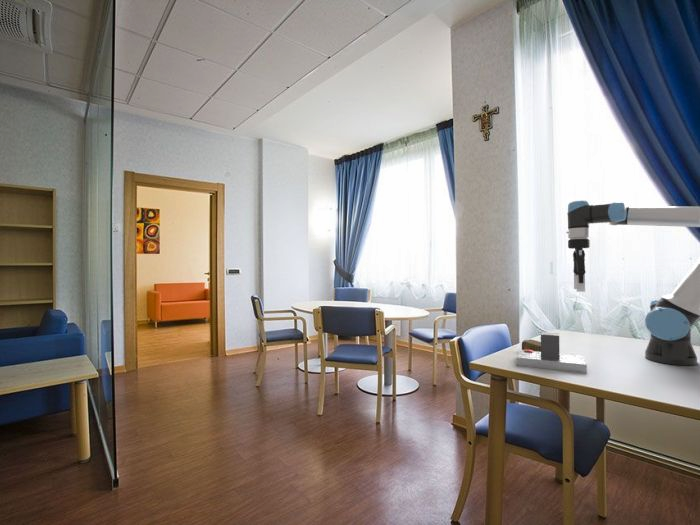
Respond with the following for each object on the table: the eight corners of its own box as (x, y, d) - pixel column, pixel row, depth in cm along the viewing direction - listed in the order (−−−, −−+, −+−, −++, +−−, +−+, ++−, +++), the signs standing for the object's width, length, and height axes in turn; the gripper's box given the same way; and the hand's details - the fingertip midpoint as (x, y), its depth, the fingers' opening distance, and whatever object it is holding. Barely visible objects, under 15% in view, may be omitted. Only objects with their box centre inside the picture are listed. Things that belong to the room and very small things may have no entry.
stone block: (531, 350, 159) (531, 338, 159) (552, 356, 148) (552, 344, 148) (520, 351, 158) (520, 339, 158) (540, 357, 147) (540, 345, 146)
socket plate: (583, 363, 137) (583, 354, 137) (586, 373, 125) (586, 362, 125) (518, 357, 147) (518, 348, 147) (516, 365, 136) (516, 355, 136)
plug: (559, 363, 137) (558, 333, 137) (559, 367, 133) (559, 335, 133) (541, 361, 140) (540, 332, 140) (541, 365, 135) (540, 334, 135)
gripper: (566, 240, 162) (566, 287, 162) (570, 237, 140) (570, 292, 140) (586, 239, 159) (586, 288, 159) (593, 236, 137) (594, 292, 137)
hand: (579, 290), depth 150 cm, fingers open, 13 cm apart
